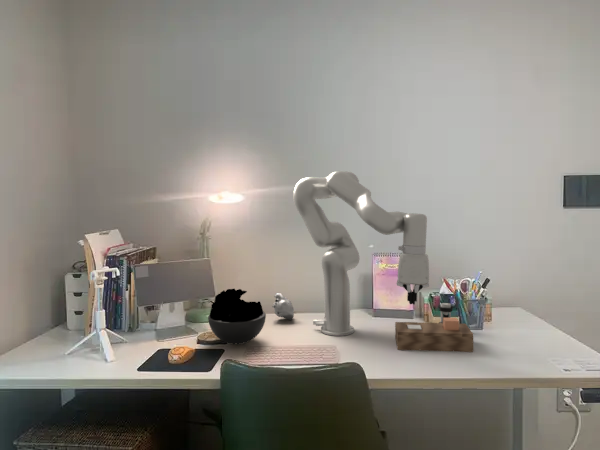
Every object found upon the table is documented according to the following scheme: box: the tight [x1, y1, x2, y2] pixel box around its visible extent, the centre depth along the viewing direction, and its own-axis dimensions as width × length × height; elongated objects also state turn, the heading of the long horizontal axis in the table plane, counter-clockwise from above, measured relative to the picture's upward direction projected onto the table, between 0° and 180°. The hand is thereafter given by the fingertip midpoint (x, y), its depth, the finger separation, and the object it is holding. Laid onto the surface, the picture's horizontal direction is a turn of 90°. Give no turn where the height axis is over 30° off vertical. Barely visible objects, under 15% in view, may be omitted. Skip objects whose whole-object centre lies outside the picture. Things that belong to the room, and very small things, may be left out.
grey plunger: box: [407, 325, 422, 330], centre depth 159 cm, size 4×4×6 cm
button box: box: [394, 321, 474, 353], centre depth 159 cm, size 24×12×6 cm, turn 82°
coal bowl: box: [207, 288, 267, 345], centre depth 163 cm, size 20×20×19 cm
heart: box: [271, 292, 295, 321], centre depth 191 cm, size 10×10×12 cm
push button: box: [438, 302, 454, 323], centre depth 175 cm, size 7×5×10 cm
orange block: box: [443, 317, 460, 330], centre depth 158 cm, size 4×4×6 cm
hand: (411, 303), depth 159 cm, fingers closed
